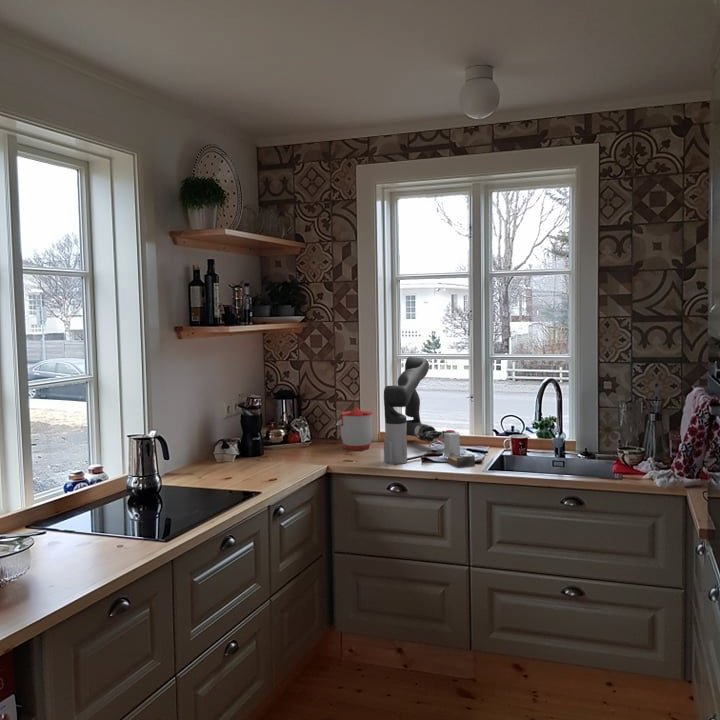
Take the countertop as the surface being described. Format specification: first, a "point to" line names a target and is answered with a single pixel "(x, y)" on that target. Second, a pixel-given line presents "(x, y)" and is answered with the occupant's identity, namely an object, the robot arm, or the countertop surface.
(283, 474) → the countertop surface
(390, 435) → the robot arm
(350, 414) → the citrus juicer
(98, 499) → the countertop surface
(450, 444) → the aluminium block
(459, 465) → the walnut cradle
